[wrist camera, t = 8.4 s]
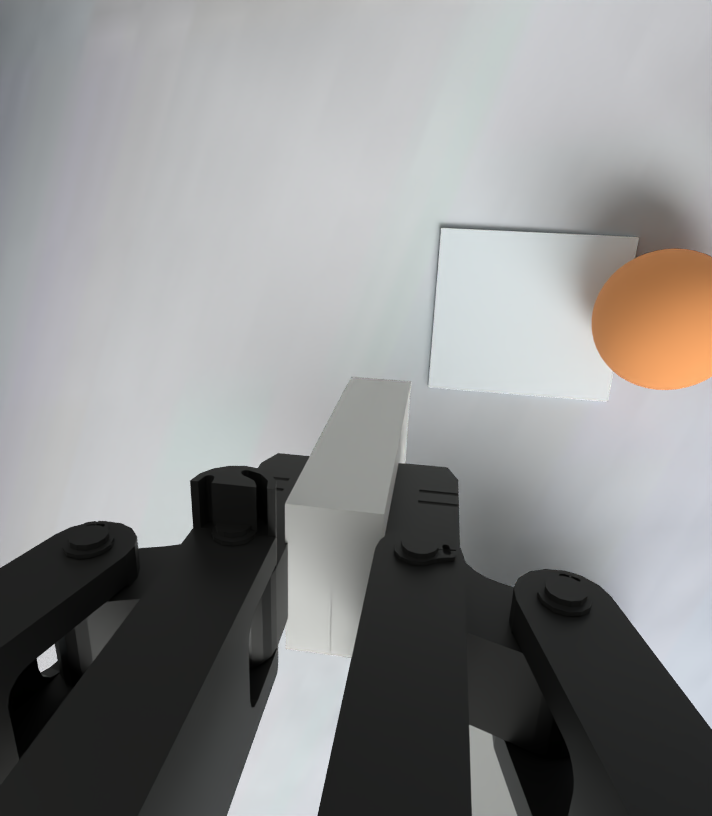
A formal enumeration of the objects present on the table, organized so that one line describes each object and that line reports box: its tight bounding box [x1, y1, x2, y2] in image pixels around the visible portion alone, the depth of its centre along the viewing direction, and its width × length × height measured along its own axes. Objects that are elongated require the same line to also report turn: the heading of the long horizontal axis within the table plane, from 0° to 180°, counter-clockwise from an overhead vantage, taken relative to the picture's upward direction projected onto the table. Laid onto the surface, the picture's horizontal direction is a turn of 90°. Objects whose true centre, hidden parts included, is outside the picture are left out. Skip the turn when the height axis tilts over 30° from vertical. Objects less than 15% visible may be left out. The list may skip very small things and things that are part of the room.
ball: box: [592, 249, 712, 390], centre depth 26 cm, size 6×6×6 cm
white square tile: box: [428, 228, 639, 402], centre depth 30 cm, size 9×8×1 cm
